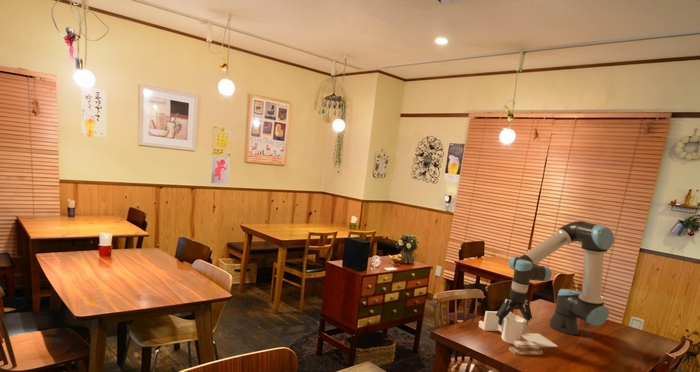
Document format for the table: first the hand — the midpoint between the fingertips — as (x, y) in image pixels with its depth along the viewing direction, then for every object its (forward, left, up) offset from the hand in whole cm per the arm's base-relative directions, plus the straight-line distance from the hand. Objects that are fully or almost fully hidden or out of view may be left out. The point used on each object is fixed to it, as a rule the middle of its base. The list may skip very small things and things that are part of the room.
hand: (511, 331), depth 186 cm
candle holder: (0, 0, -5) cm, 5 cm away
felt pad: (-18, 0, -5) cm, 18 cm away
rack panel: (0, -13, -5) cm, 14 cm away
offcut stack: (0, +11, -5) cm, 12 cm away
